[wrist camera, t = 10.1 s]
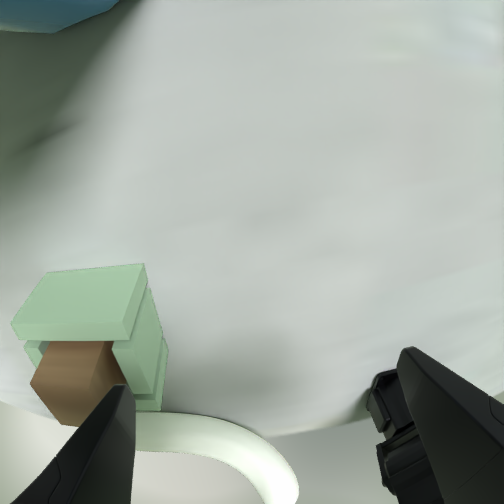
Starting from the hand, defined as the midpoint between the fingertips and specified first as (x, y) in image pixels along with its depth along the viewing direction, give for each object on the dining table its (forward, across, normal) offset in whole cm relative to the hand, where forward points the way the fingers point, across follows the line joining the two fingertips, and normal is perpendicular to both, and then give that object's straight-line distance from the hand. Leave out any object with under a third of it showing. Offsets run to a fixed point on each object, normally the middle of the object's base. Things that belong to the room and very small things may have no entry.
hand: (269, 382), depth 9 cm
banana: (+12, +6, +20) cm, 24 cm away
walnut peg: (+12, +11, +6) cm, 17 cm away
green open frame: (+12, +11, +6) cm, 17 cm away
